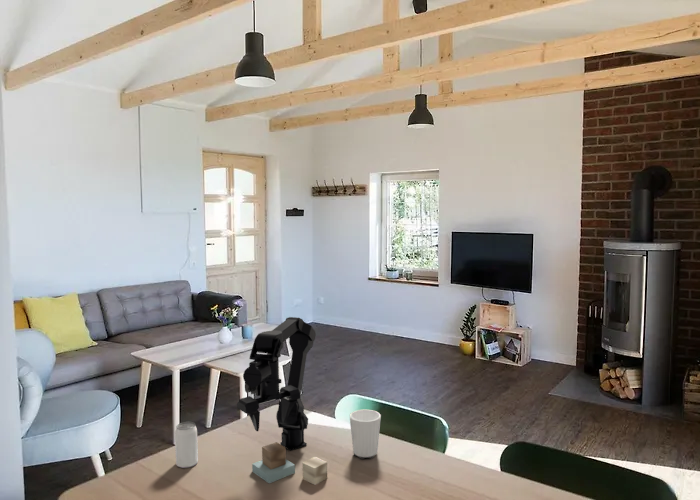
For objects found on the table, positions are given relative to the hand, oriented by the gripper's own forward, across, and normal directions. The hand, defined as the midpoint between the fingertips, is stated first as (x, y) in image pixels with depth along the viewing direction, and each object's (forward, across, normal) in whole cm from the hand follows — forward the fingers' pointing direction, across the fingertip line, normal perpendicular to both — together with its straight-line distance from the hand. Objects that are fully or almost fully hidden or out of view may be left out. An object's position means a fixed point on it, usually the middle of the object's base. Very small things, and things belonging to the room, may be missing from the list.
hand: (270, 426), depth 160 cm
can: (+13, +18, -19) cm, 30 cm away
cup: (+13, -27, +12) cm, 32 cm away
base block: (+13, +1, +3) cm, 14 cm away
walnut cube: (+10, +1, +3) cm, 11 cm away
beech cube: (+13, -6, +14) cm, 20 cm away
